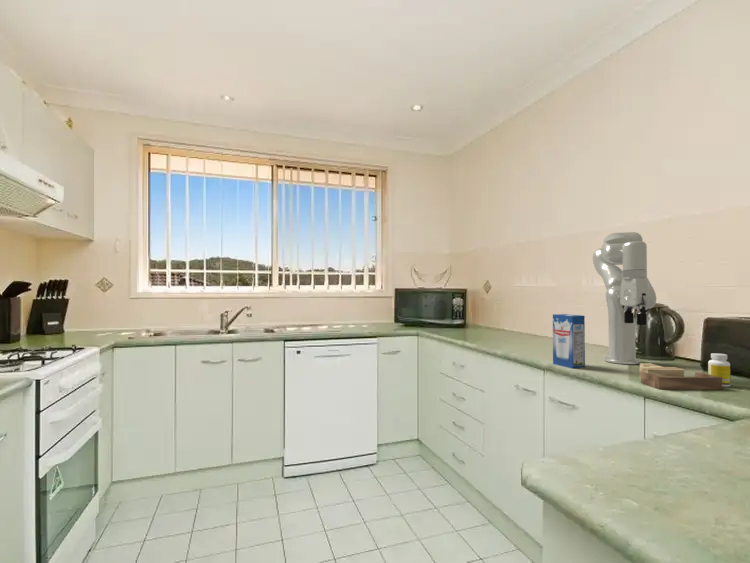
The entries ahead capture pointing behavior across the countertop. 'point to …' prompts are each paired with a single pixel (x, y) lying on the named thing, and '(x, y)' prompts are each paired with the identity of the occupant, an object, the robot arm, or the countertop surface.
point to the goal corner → (682, 381)
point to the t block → (661, 370)
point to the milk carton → (569, 340)
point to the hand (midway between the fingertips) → (635, 323)
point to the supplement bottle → (720, 368)
